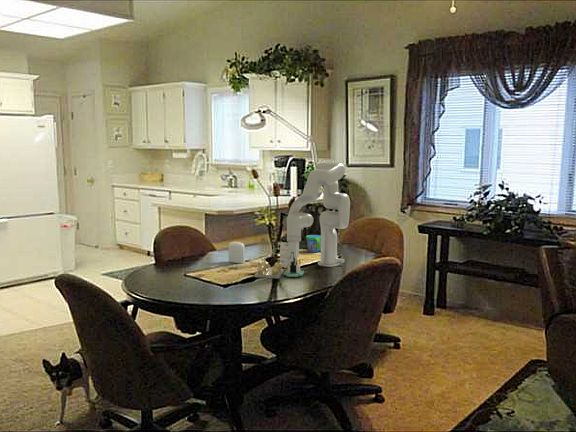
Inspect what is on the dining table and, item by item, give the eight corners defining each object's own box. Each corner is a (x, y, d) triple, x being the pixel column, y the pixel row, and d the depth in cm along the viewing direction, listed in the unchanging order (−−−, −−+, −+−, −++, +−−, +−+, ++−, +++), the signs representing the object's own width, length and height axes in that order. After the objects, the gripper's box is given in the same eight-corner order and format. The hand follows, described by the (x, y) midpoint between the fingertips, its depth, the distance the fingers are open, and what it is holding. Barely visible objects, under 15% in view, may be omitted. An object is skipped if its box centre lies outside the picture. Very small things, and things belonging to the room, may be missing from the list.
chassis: (260, 270, 312) (260, 258, 311) (283, 272, 310) (283, 259, 309) (255, 277, 298) (255, 264, 297) (279, 278, 296) (279, 265, 295)
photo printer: (227, 262, 333) (227, 241, 331) (231, 260, 337) (231, 240, 335) (241, 264, 328) (241, 243, 326) (245, 262, 332) (245, 242, 330)
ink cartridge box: (296, 267, 321) (297, 242, 319) (292, 269, 317) (293, 243, 315) (283, 265, 325) (283, 240, 323) (279, 267, 321) (279, 242, 319)
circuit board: (286, 270, 309) (286, 262, 308) (304, 271, 307) (304, 263, 306) (282, 276, 297) (282, 267, 296) (301, 277, 295) (301, 268, 295)
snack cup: (302, 249, 373) (303, 234, 371) (318, 248, 375) (318, 233, 374) (309, 254, 358) (309, 238, 356) (325, 253, 360) (325, 237, 359)
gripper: (289, 234, 308) (289, 267, 310) (284, 240, 291) (284, 275, 294) (303, 235, 306) (302, 267, 309) (298, 241, 290) (298, 275, 293)
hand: (293, 271), depth 302 cm, fingers closed on circuit board, 4 cm apart
